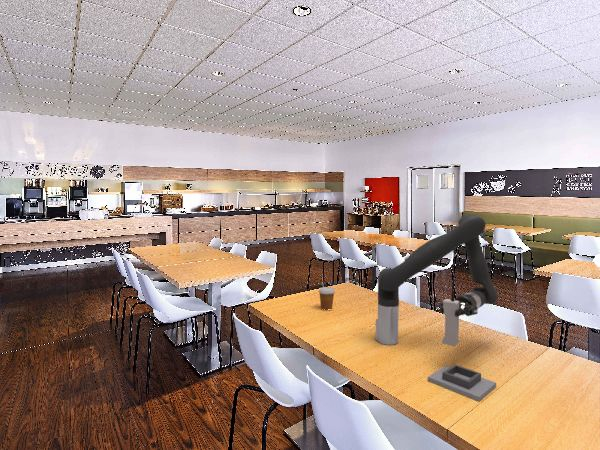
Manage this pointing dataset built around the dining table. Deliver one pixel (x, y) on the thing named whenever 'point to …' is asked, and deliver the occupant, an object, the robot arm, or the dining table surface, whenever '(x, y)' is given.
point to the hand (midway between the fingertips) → (448, 312)
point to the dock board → (462, 381)
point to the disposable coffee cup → (326, 297)
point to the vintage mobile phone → (451, 320)
